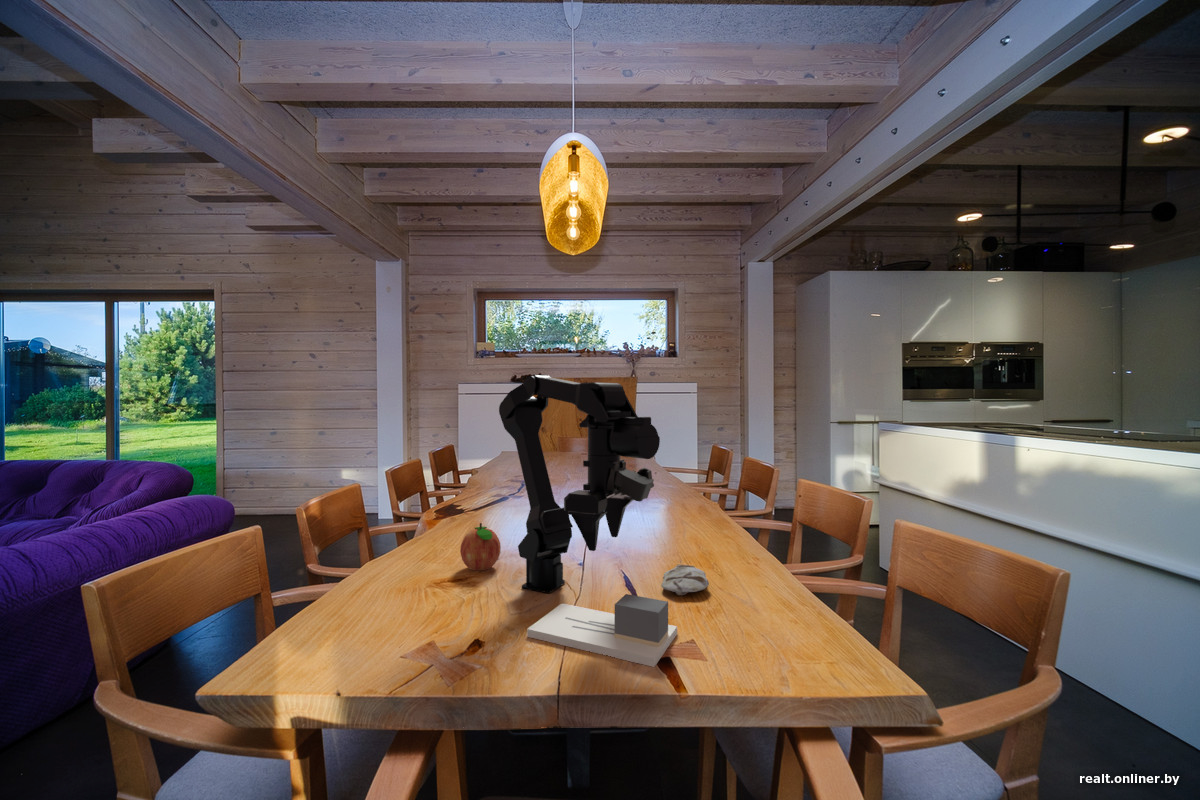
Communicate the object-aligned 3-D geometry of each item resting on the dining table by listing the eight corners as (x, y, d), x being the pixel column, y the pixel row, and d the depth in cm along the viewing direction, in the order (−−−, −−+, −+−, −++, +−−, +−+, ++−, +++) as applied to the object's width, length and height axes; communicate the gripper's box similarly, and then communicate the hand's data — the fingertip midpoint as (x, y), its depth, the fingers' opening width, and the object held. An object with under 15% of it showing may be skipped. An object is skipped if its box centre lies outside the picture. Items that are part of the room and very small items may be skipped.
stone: (711, 601, 94) (711, 583, 94) (661, 599, 95) (661, 581, 95) (704, 579, 106) (704, 563, 106) (660, 577, 107) (660, 561, 107)
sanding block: (614, 637, 77) (614, 604, 77) (625, 625, 81) (625, 593, 81) (658, 647, 74) (658, 612, 74) (668, 634, 78) (668, 601, 78)
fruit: (459, 577, 106) (459, 529, 106) (461, 563, 115) (461, 519, 115) (501, 574, 108) (501, 527, 108) (499, 560, 117) (499, 517, 117)
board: (527, 636, 79) (527, 628, 79) (561, 610, 89) (561, 603, 89) (654, 667, 70) (654, 658, 70) (677, 633, 80) (677, 626, 80)
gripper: (626, 462, 77) (626, 565, 77) (664, 451, 94) (664, 535, 94) (562, 459, 81) (562, 556, 81) (609, 448, 98) (609, 529, 98)
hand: (603, 543), depth 89 cm, fingers open, 9 cm apart
